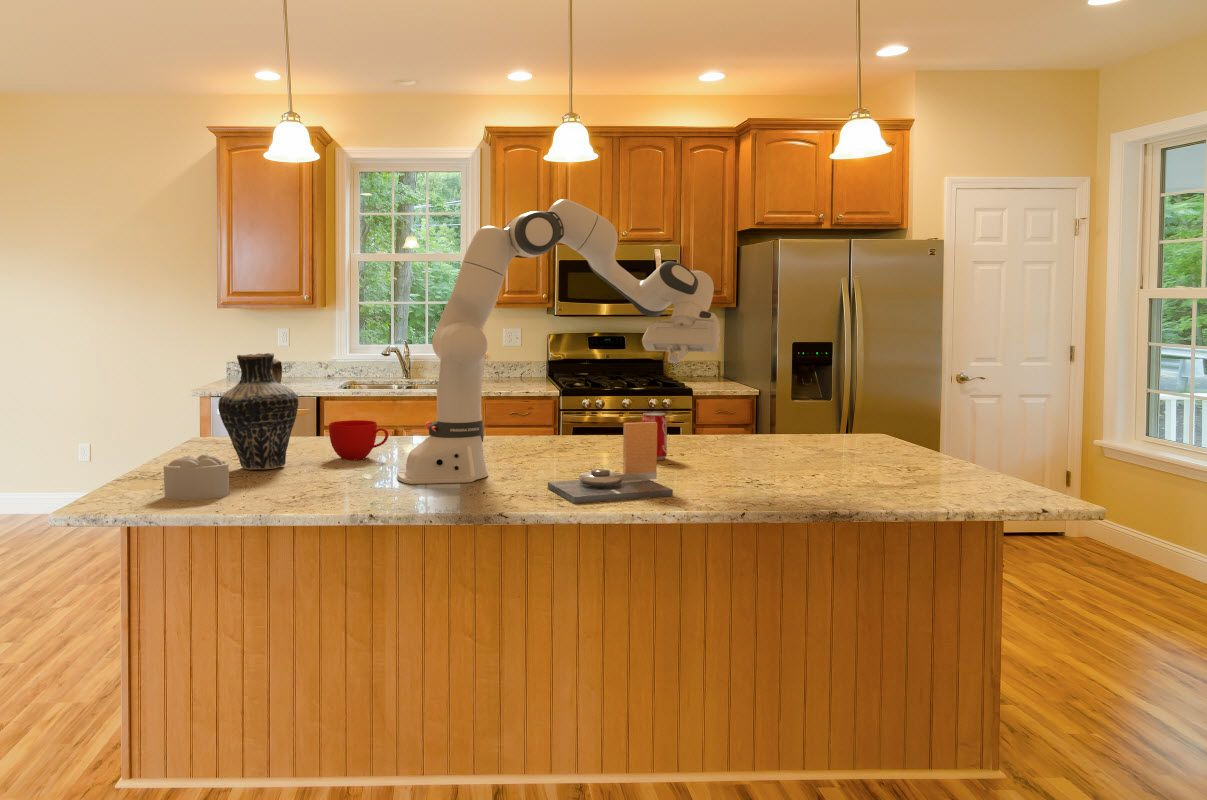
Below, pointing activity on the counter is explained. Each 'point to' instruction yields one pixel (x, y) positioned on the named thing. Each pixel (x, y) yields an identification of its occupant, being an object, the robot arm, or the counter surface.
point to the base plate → (609, 491)
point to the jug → (259, 413)
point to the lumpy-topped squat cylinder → (196, 478)
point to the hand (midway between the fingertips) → (673, 361)
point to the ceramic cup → (354, 438)
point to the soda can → (659, 432)
